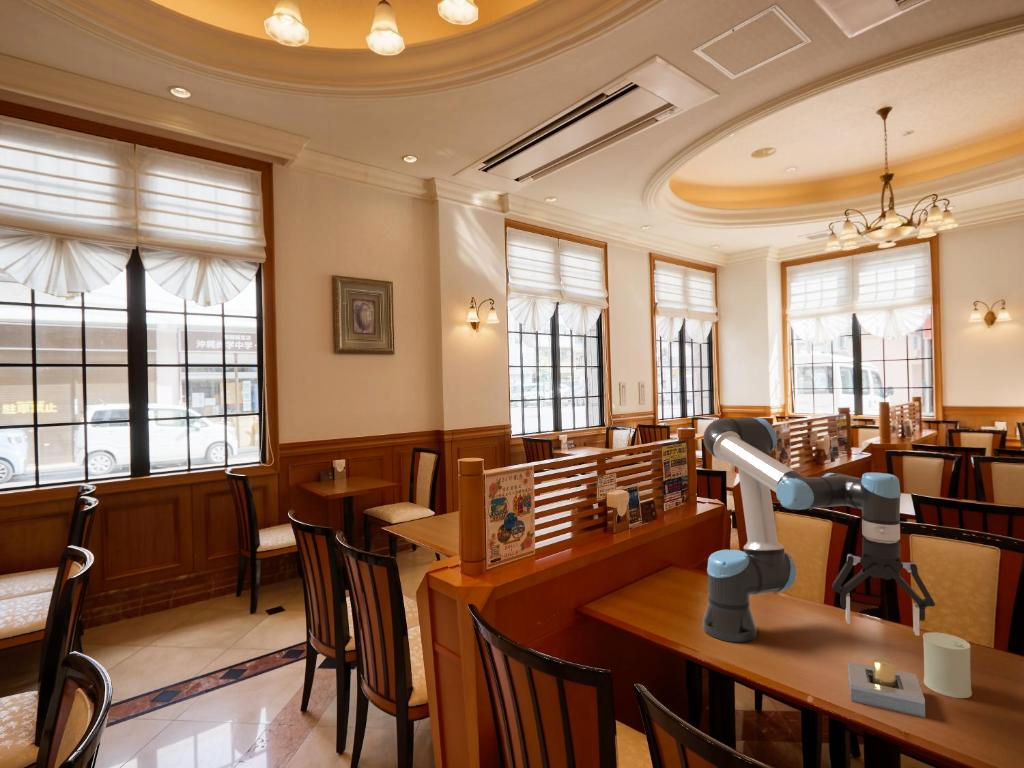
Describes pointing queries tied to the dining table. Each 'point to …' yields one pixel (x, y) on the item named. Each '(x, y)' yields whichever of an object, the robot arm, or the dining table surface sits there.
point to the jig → (886, 690)
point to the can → (947, 665)
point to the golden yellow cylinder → (884, 672)
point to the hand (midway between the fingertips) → (881, 627)
